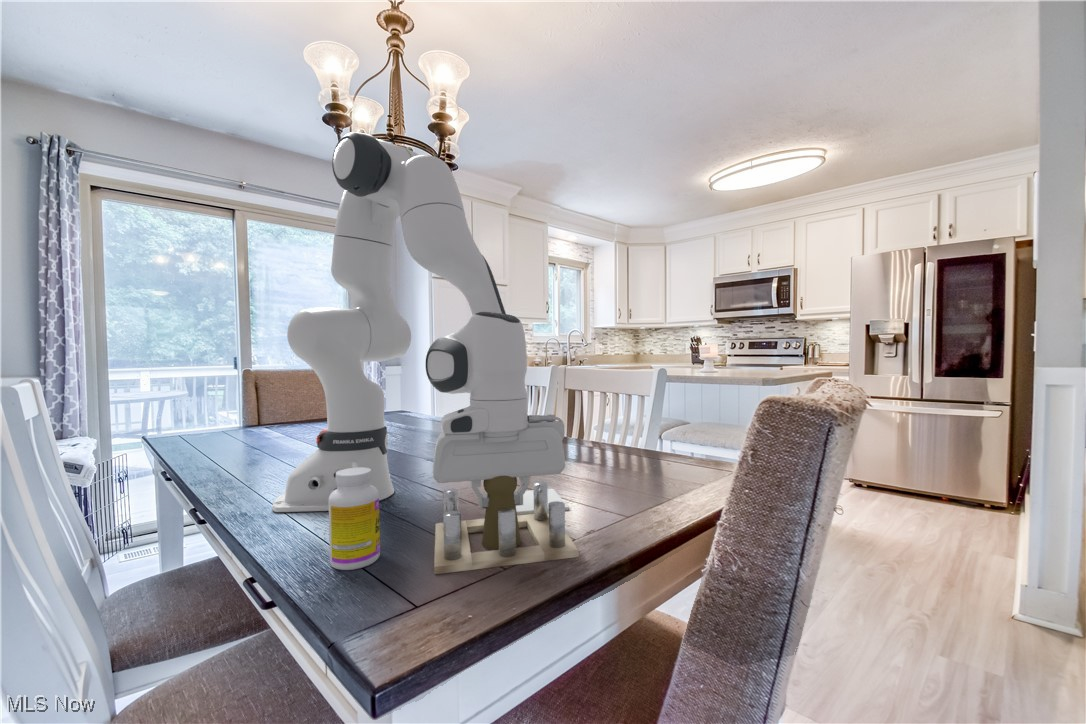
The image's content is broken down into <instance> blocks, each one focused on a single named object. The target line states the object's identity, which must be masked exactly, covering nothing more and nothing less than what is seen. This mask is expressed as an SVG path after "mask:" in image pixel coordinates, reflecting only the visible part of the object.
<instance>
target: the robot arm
mask: <svg viewBox="0 0 1086 724" xmlns="http://www.w3.org/2000/svg"><path fill="white" fill-rule="evenodd" d="M331 162H332V163H331V164H332V166H331V167H332V172H333V176H334V177H335V178H334V179H335V181H336V183H337V184H338V185H339V187H341V188H342V189H343V190H344V191H343V194H342V197H341V200H340V202H339V206H338V209H337V215H336V220H335V227H334V234H333V245H332V256H331V259H332V260H331V266H330V271H331V275H332V277H333V279H334V281H335V282H336V283H337V284H338V285H339V286H340V287H342V288H343V289H345V290H346V291H347V292H348V294H349V296H350V299H351V305H352V307H351V308H342V307H333V306H332V307H331V306H322V307H320V306H319V307H312V308H306V309H304V308H303V309H300V310H298V311H297V312H296V313H295V314H294V315H293V316H292V318H291V320H290V321H289V324H288V328H287V330H286V331H287V333H286V334H287V335H286V337H287V342H288V344H289V347H290V349H291V350H292V352H293V353H294V354H295V356H296V357H298V358H299V359H300V360H302V361H303V362H305V363H306V364H307V365H308V366H309V367H310V368H311V369H312V370H313V371H314V373H315V374H316V376H317V378H318V379H319V381H320V384H321V386H322V389H323V391H324V396H325V407H326V408H325V409H326V418H327V419H326V422H327V428H323V430H321V431H320V432H319V434H318V435H317V436H316V438H315V440H316V441H315V443H316V444H317V445H316V447H317V450H315V451H314V452H313V453H312V454H310V455H309V456H308V457H307V458H306V459H304V460H303V461H302V462H301V463H300V464H298V465H297V466H296V467H294V469H293V470H292V471H291V472H290V474H289V476H288V478H287V481H286V487H285V491H284V492H283V493H281V494H280V495H279V496H277V497H276V498H275V499H274V500H273V503H272V512H275V513H291V512H292V513H296V512H297V513H298V512H327V511H328V512H329V496H330V494H331V493H332V492H333V491H334V490H336V489H337V483H336V472H338V471H340V470H344V469H348V468H358V467H364V468H369V469H371V480H370V485H372V486H374V487H375V488H376V489H377V490H378V492H379V502H380V501H382V500H384V499H387V498H389V497H390V496H392V495H393V494H394V493H395V489H394V486H393V483H392V482H393V481H392V480H391V474H390V471H389V464H388V463H389V462H388V458H387V453H388V450H389V446H388V445H389V443H388V442H389V438H388V437H389V436H388V435H389V434H388V427H387V426H386V425H385V424H386V423H385V394H384V390H383V389H382V388H381V386H380V385H379V384H377V383H376V382H374V381H372V380H370V379H369V378H367V376H366V374H365V373H364V370H363V368H362V362H366V363H367V362H384V361H390V360H394V359H397V358H400V357H403V356H404V355H405V354H407V351H408V350H409V349H410V347H411V343H412V342H411V341H412V332H411V328H410V325H409V324H408V322H407V321H406V319H405V318H404V317H403V316H402V315H401V314H400V312H399V311H398V308H397V307H396V304H395V302H394V299H393V294H392V290H391V266H392V265H391V264H392V253H393V243H394V242H393V241H394V229H395V223H396V220H397V219H398V218H399V217H400V222H401V223H400V224H401V229H402V236H403V239H404V243H405V246H406V248H407V251H408V253H409V255H410V257H412V259H413V260H414V261H415V262H416V263H417V264H418V265H419V266H421V267H422V268H423V269H425V270H427V271H429V272H430V273H432V274H435V276H438V277H440V278H442V279H444V280H446V281H447V282H449V283H450V284H451V285H453V286H454V287H455V288H457V289H458V290H459V291H460V292H461V293H462V295H464V297H465V298H466V301H467V302H468V305H469V308H470V312H471V315H472V316H471V317H470V319H469V321H468V322H467V323H466V324H465V325H464V326H462V327H461V328H459V329H458V330H455V332H453V333H450V334H448V335H445V336H440V337H438V338H437V339H435V340H434V341H433V342H432V343H431V345H430V346H429V347H428V349H427V354H426V356H425V373H426V376H427V378H428V380H429V383H430V384H431V385H432V387H434V389H436V390H437V391H438V392H440V393H443V394H444V393H445V394H450V395H451V394H452V395H454V394H466V393H467V394H470V395H469V396H470V397H469V406H466V407H463V408H461V409H458V410H455V411H452V412H450V413H449V412H448V413H447V414H445V415H443V417H442V418H441V420H440V428H441V430H442V431H441V433H440V434H439V435H438V437H437V439H436V442H435V447H434V448H435V449H434V455H433V466H432V467H433V468H432V470H433V471H432V473H433V474H432V477H433V479H434V480H435V481H436V482H437V483H438V484H447V483H458V482H459V483H460V482H470V486H471V489H472V490H473V492H474V494H475V495H476V497H477V501H478V503H477V504H478V505H477V506H478V509H479V510H484V509H486V508H488V502H489V497H488V496H487V493H485V494H484V493H482V491H481V489H480V488H481V487H482V484H481V483H482V481H484V480H488V479H492V478H494V477H497V476H510V477H513V478H514V477H516V478H518V480H519V481H520V485H519V487H517V488H518V489H517V490H515V491H514V500H515V501H514V502H515V506H518V505H523V494H524V493H525V491H528V488H529V486H530V485H531V477H537V476H538V477H539V476H551V475H560V474H562V472H563V471H564V469H565V467H566V459H565V449H564V443H563V440H564V438H565V431H566V430H565V423H564V421H563V420H562V419H561V418H560V417H558V416H556V415H555V414H546V415H545V414H544V415H543V414H542V415H541V414H535V415H532V414H530V415H529V413H528V412H529V411H528V408H529V407H528V393H527V389H526V386H525V385H526V384H525V381H526V374H527V370H528V363H527V362H528V357H527V354H528V353H527V342H526V334H525V330H524V326H523V323H522V322H521V320H520V319H519V318H518V317H516V316H515V315H511V314H507V313H506V310H505V307H504V304H503V301H502V298H501V294H500V291H499V289H498V286H497V282H496V280H495V278H494V274H493V272H492V269H491V266H490V264H489V263H488V261H487V260H486V258H485V256H484V255H483V254H482V252H481V251H480V249H479V248H478V246H477V243H476V241H475V240H474V237H473V235H472V233H471V230H470V228H469V224H468V221H467V217H466V213H465V208H464V204H463V200H462V196H461V194H460V190H459V187H458V184H457V182H456V179H455V177H454V175H453V172H452V170H451V168H450V167H449V165H448V163H446V162H445V161H444V160H443V159H442V158H441V159H440V158H439V157H437V156H433V155H429V154H421V155H420V154H419V153H417V152H415V151H413V150H410V149H409V148H407V147H405V146H403V145H402V146H401V145H398V144H394V143H392V142H389V141H385V140H383V139H378V138H377V137H375V136H373V135H371V134H368V133H365V132H356V131H351V132H348V133H346V134H345V135H344V136H342V137H341V138H340V139H339V140H338V142H337V144H336V145H335V148H334V150H333V154H332V161H331Z"/></svg>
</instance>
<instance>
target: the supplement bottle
mask: <svg viewBox="0 0 1086 724" xmlns="http://www.w3.org/2000/svg"><path fill="white" fill-rule="evenodd" d="M370 480H371V469H369V468H364V467H358V468H348V469H344V470H340V471H338V472H336V483H337V489H336V490H334V491H333V492H332V493H331V494H330V496H329V511H328V529H329V531H328V532H329V534H328V535H329V537H328V538H329V563H330V565H331V566H332V567H333V568H334V569H337V570H340V571H353V570H358V569H363V568H365V567H368V566H370V565H372V564H374V563H375V562H376V561H377V560H378V559H379V558H380V555H381V532H380V531H381V529H380V528H381V526H380V525H381V524H380V520H381V519H380V501H379V492H378V490H377V489H376V488H375V487H374V486H372V485H370Z"/></svg>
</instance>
